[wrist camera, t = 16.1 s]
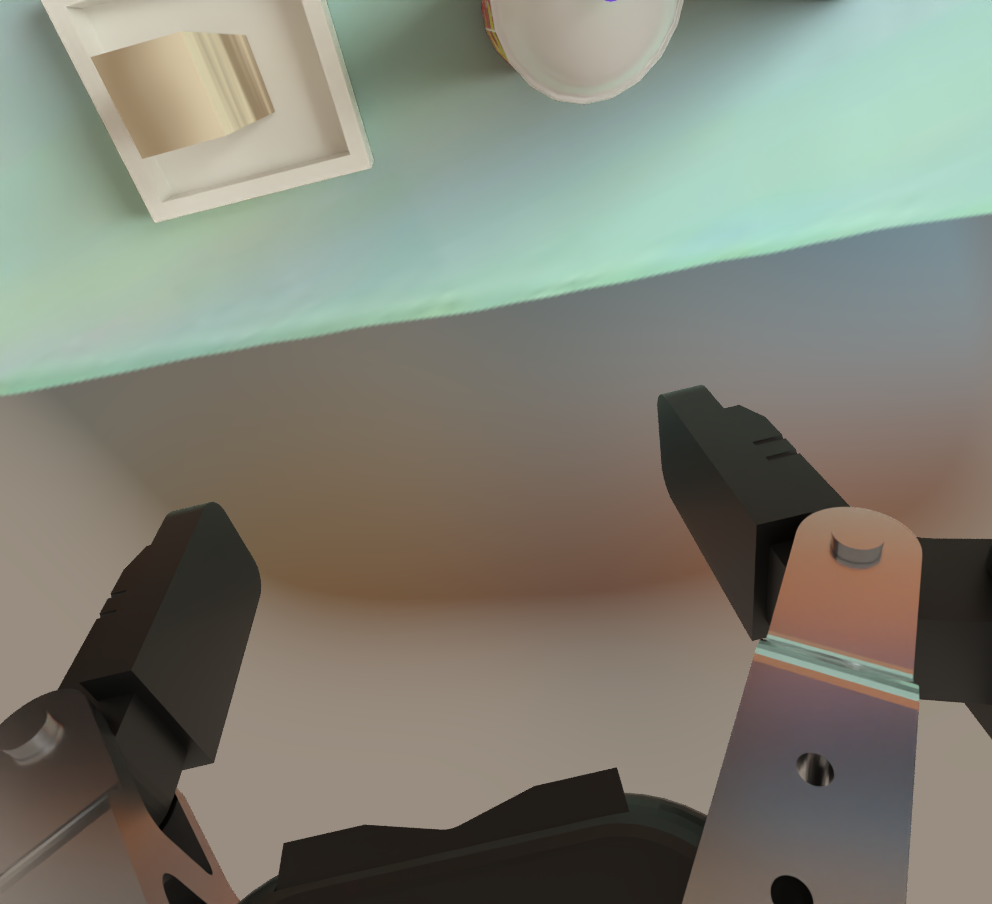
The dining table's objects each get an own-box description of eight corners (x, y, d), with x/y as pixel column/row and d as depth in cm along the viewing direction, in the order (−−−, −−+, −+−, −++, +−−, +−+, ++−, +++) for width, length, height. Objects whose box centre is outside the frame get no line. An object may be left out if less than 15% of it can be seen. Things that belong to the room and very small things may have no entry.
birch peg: (245, 35, 36) (181, 31, 26) (275, 111, 38) (226, 135, 28) (180, 53, 36) (90, 57, 26) (213, 129, 38) (142, 158, 28)
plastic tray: (304, -73, 34) (296, -82, 31) (373, 160, 41) (371, 168, 38) (61, -9, 34) (34, -13, 32) (170, 212, 41) (154, 223, 38)
